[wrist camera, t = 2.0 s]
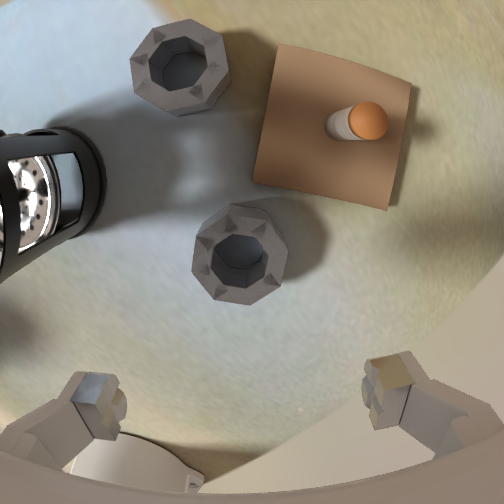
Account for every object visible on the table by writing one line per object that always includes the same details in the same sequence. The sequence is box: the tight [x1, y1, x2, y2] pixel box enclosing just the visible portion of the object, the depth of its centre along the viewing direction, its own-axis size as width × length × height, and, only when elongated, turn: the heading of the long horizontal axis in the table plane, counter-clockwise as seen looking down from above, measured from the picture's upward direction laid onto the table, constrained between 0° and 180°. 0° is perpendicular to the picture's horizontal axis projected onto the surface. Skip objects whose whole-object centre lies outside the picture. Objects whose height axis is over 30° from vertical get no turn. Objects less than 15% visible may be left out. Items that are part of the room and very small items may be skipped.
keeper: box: [252, 44, 411, 211], centre depth 18 cm, size 10×10×8 cm
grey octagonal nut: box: [191, 204, 289, 305], centre depth 23 cm, size 6×6×4 cm
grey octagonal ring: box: [130, 19, 231, 116], centre depth 18 cm, size 6×6×4 cm
